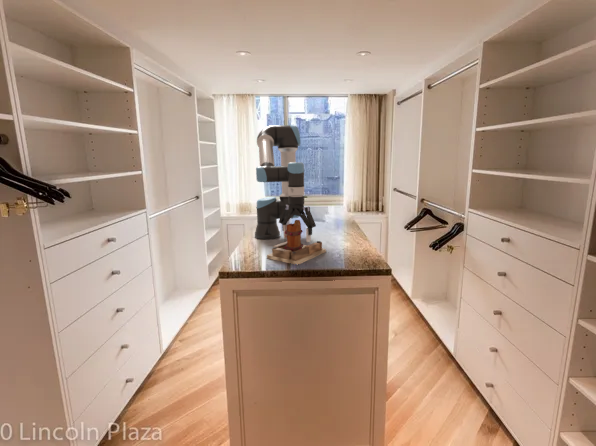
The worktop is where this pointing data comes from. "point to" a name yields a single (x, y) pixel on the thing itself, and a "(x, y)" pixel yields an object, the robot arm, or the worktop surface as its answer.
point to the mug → (294, 236)
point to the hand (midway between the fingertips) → (297, 239)
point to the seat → (292, 254)
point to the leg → (314, 247)
